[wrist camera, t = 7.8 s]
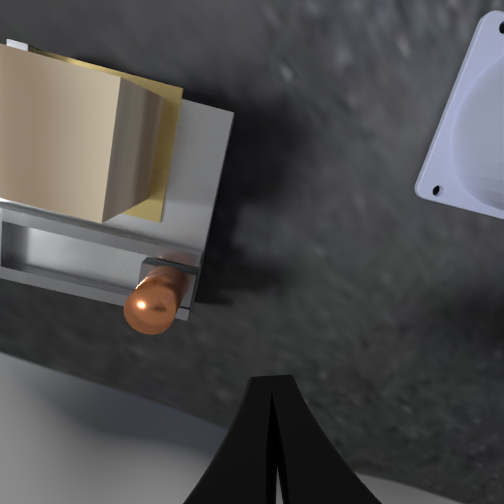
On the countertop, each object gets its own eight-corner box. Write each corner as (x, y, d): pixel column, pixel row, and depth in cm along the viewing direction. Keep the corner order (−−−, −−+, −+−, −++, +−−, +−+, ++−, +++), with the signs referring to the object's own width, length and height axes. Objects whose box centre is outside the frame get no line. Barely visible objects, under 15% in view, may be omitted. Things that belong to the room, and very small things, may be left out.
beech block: (164, 97, 15) (120, 76, 10) (147, 199, 16) (101, 223, 11) (59, 68, 15) (-37, 33, 10) (50, 174, 16) (-38, 188, 11)
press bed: (237, 105, 16) (233, 99, 14) (194, 302, 19) (185, 324, 17) (-17, 37, 15) (-64, 19, 13) (-20, 253, 19) (-59, 269, 16)
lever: (200, 266, 17) (185, 297, 14) (192, 302, 18) (176, 340, 14) (147, 253, 17) (119, 282, 14) (141, 290, 18) (113, 326, 14)
